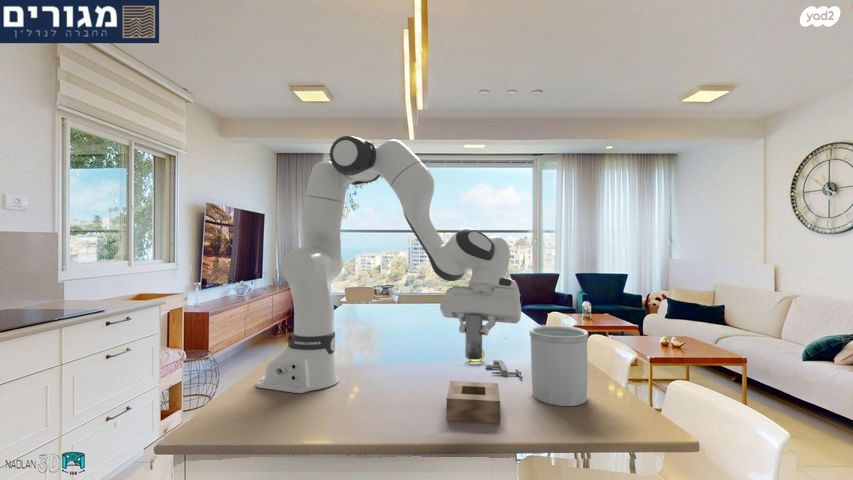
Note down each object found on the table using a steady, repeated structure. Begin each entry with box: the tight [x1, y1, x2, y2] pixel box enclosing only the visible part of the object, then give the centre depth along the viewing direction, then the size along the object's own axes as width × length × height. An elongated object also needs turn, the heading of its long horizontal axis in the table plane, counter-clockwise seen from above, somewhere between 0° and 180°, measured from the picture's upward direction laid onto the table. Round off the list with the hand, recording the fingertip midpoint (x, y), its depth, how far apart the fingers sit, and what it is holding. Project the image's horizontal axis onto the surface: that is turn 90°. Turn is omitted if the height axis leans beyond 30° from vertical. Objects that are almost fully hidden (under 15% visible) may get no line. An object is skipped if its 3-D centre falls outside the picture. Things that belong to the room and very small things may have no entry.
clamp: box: [485, 359, 524, 380], centre depth 128 cm, size 15×2×10 cm
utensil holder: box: [529, 324, 589, 407], centre depth 108 cm, size 15×15×18 cm
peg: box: [464, 314, 483, 360], centre depth 98 cm, size 4×4×10 cm
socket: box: [445, 380, 501, 425], centre depth 98 cm, size 12×12×5 cm
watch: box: [468, 347, 485, 363], centre depth 140 cm, size 6×3×6 cm, turn 93°
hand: (473, 332), depth 97 cm, fingers closed on peg, 4 cm apart
